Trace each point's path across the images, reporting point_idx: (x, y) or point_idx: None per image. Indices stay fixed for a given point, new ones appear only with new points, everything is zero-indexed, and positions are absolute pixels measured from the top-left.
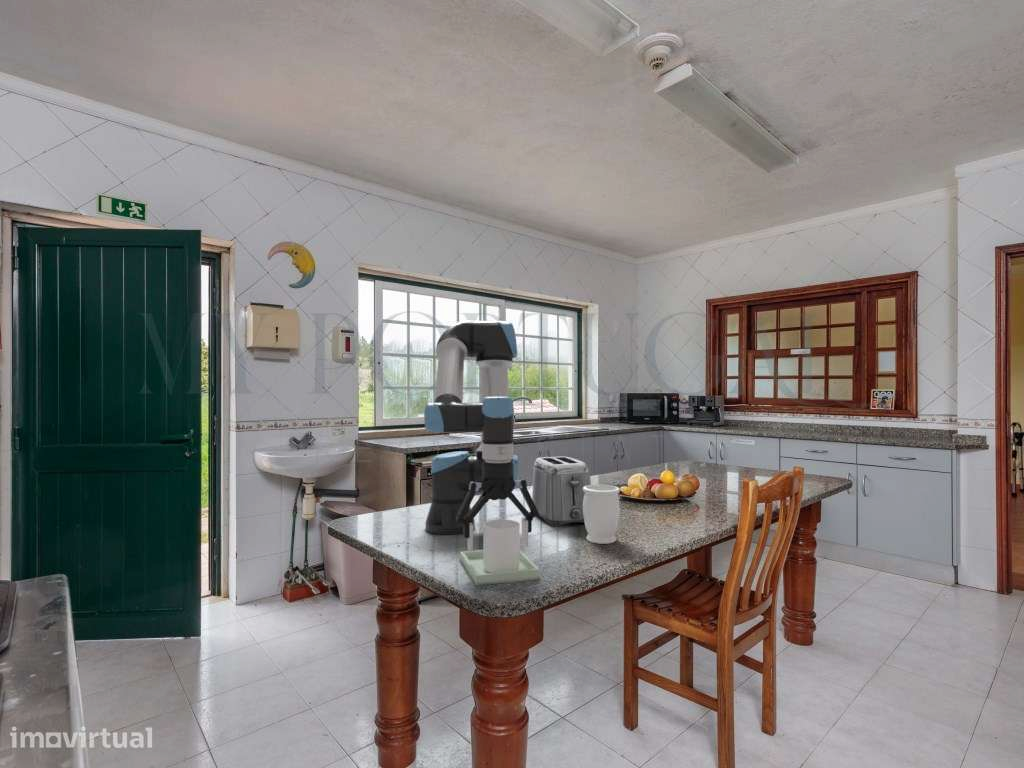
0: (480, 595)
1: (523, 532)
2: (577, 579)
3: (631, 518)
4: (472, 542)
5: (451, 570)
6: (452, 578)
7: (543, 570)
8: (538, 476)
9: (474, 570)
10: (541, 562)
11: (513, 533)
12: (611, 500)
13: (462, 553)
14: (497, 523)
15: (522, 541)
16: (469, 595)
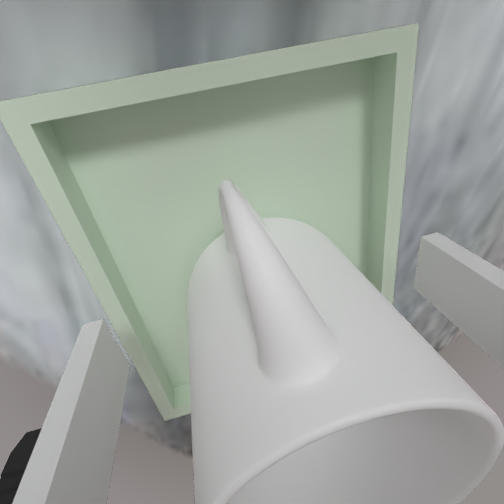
0: (184, 434)
1: (483, 315)
2: None
3: None
4: (116, 422)
5: (23, 261)
6: (60, 343)
7: (411, 262)
8: None
9: (153, 383)
10: (445, 173)
11: (383, 490)
12: None
13: (26, 148)
14: (345, 386)
15: (435, 259)
16: (152, 438)
